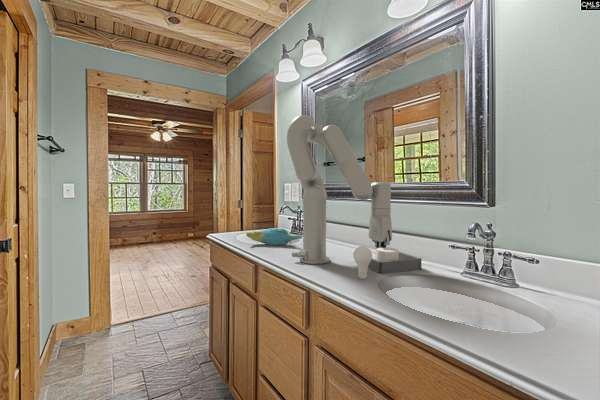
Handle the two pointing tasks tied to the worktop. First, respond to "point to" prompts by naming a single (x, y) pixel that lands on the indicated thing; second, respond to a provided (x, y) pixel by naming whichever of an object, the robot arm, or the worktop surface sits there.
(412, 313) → the worktop surface
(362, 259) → the lightbulb
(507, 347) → the worktop surface
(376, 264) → the box
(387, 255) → the toilet paper
